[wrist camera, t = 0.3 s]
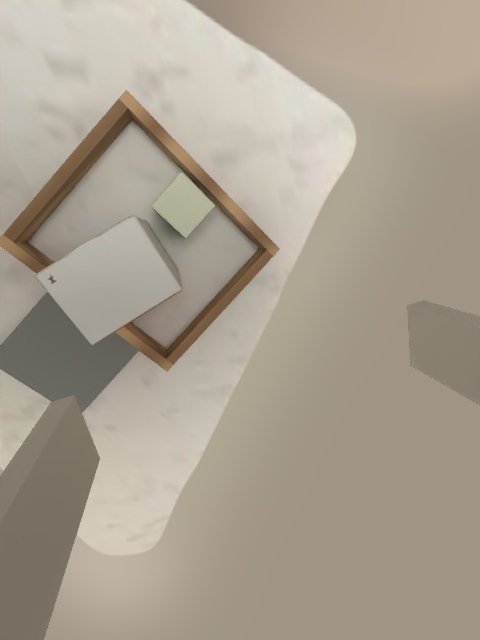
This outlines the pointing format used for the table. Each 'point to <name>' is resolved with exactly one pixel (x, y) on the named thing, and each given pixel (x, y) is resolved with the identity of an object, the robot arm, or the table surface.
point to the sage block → (183, 205)
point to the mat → (61, 355)
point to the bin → (132, 109)
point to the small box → (112, 279)
